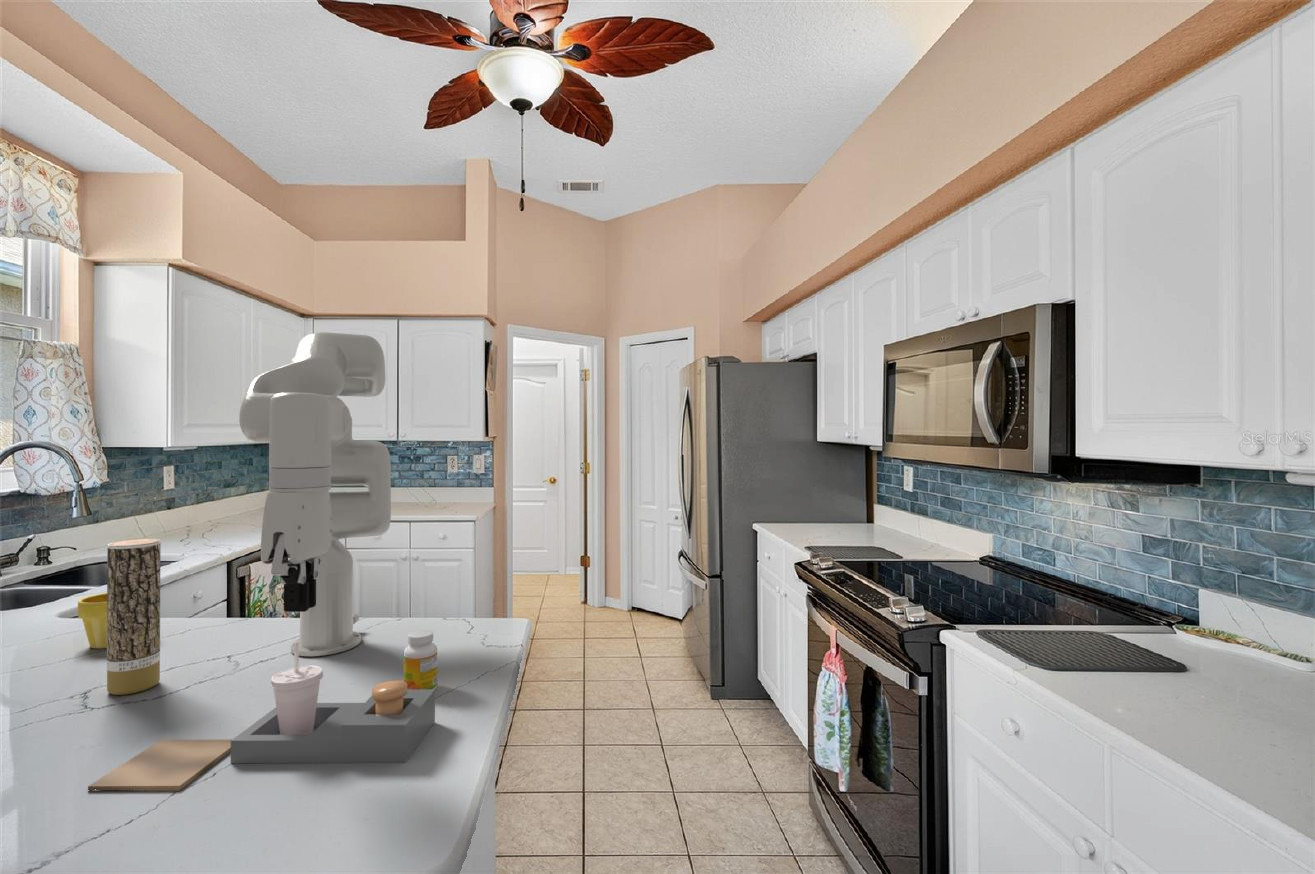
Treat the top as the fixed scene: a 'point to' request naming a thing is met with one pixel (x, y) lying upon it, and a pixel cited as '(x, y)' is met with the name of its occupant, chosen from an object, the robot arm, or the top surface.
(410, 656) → the supplement bottle
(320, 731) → the grey holder
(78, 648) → the top surface
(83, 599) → the plant pot
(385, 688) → the tan mushroom
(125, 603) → the bark pattern canister
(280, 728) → the smoothie
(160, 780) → the mat
